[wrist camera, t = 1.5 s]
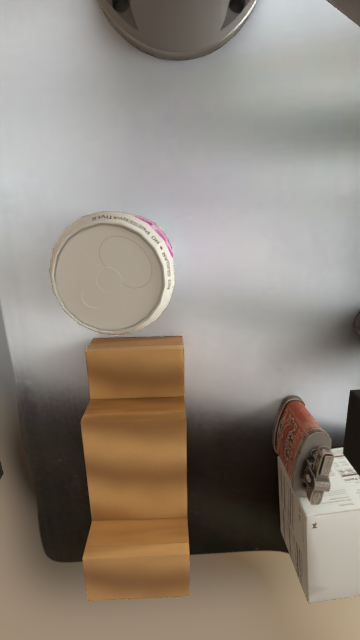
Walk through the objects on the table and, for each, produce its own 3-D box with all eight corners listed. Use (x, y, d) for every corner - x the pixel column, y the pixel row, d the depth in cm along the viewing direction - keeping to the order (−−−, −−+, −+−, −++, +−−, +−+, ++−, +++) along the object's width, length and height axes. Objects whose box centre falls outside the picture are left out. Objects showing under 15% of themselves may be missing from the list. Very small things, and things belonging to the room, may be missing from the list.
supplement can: (131, 198, 33) (102, 178, 19) (188, 257, 35) (202, 281, 20) (78, 255, 34) (13, 279, 20) (135, 309, 36) (113, 366, 22)
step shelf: (93, 338, 37) (59, 389, 25) (182, 335, 37) (188, 386, 26) (109, 501, 43) (87, 601, 32) (184, 498, 44) (189, 596, 32)
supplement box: (279, 532, 46) (306, 607, 37) (275, 453, 42) (304, 516, 33) (399, 516, 46) (455, 587, 37) (405, 436, 42) (470, 494, 33)
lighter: (293, 451, 42) (330, 519, 33) (267, 450, 42) (297, 517, 32) (307, 396, 40) (351, 450, 30) (280, 394, 40) (315, 448, 30)
